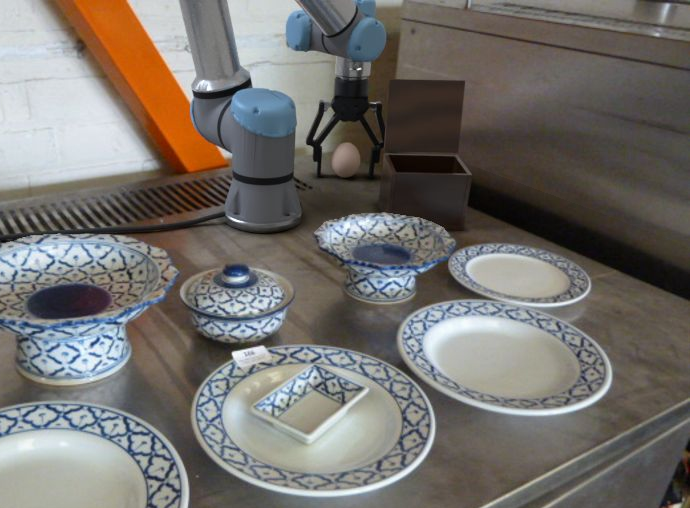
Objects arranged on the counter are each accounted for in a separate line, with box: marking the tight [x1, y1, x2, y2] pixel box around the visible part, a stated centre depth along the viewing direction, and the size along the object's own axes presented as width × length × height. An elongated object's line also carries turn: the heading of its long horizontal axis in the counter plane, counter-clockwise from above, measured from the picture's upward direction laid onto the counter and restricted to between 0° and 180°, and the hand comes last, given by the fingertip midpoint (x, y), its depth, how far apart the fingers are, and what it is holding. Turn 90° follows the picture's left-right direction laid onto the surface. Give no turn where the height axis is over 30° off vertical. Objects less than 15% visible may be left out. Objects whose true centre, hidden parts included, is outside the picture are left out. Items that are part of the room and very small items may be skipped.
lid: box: [383, 78, 466, 154], centre depth 131 cm, size 14×15×5 cm
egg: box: [330, 141, 361, 178], centre depth 150 cm, size 7×7×8 cm
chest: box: [377, 152, 473, 231], centre depth 128 cm, size 13×15×11 cm
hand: (344, 176), depth 152 cm, fingers open, 11 cm apart
